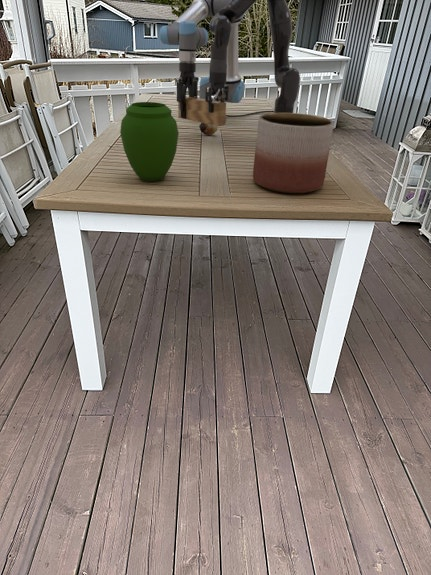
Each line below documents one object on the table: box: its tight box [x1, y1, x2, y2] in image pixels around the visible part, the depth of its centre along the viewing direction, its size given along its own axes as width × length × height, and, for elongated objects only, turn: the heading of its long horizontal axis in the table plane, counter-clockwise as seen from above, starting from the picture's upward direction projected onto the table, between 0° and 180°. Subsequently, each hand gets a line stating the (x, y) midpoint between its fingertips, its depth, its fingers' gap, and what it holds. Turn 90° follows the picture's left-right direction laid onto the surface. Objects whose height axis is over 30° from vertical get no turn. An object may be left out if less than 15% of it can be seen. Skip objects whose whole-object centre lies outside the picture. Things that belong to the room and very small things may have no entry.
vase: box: [119, 101, 179, 182], centre depth 140 cm, size 20×20×24 cm
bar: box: [177, 95, 227, 127], centre depth 190 cm, size 25×5×9 cm, turn 52°
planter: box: [252, 112, 335, 194], centre depth 142 cm, size 25×25×22 cm
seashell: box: [198, 122, 219, 136], centre depth 209 cm, size 10×6×8 cm, turn 97°
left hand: (187, 117), depth 196 cm, fingers closed on bar, 5 cm apart
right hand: (216, 111), depth 185 cm, fingers open, 7 cm apart
